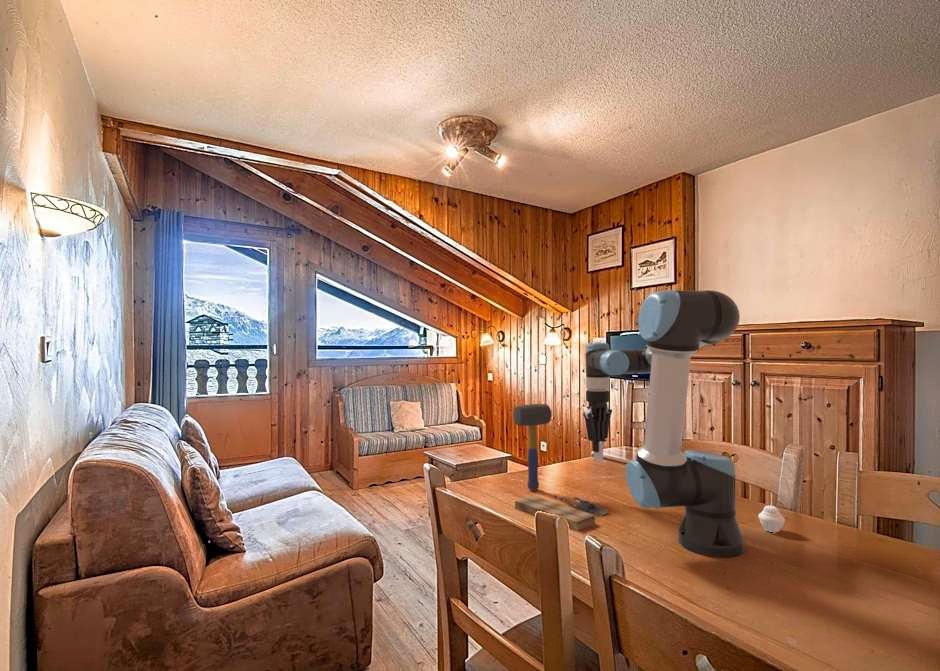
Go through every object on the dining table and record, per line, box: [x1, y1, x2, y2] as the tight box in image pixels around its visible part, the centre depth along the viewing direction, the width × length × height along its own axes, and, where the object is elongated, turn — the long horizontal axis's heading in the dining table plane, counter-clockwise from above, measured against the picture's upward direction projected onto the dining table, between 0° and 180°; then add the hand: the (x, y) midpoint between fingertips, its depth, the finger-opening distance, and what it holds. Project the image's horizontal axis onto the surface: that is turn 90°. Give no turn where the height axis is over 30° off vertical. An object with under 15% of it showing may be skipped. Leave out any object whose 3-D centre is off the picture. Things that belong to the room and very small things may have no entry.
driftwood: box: [553, 495, 611, 518], centre depth 156 cm, size 21×7×2 cm, turn 26°
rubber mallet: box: [512, 403, 553, 492], centre depth 173 cm, size 12×8×30 cm, turn 111°
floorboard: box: [514, 495, 596, 532], centre depth 147 cm, size 24×8×2 cm, turn 40°
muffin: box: [758, 505, 786, 533], centre depth 134 cm, size 6×6×7 cm
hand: (598, 461), depth 163 cm, fingers closed
